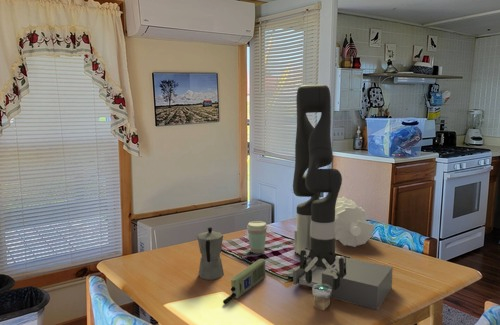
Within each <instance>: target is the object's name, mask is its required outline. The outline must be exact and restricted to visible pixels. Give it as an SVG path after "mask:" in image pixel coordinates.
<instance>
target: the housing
mask: <svg viewBox="0 0 500 325" xmlns="http://www.w3.org/2000/svg"><path fill="white" fill-rule="evenodd" d="M342 256H343V255H342ZM342 256H340V257H342ZM345 257H346V275H345V276H344V277H343V278H340V286H339V287H338V288H337V289H336V290H333V278H334V277H333V275H332V273H331V272H329V270H328V269H326V270H325V271H324V272H323V273H322V283H323V284H328V285H330V286H331V287H332V296H331V297H330V298H331V299H334V300H339V301H342V302H347V303H351V304H353V305H357V306H361V307H365V308H368V309H372V310H377V311H378V309H379V308H380V306H381V305H382V303H383V302H384V300H385V299H386V298H387V296H388V295H389V293H390V292H391V290H392V289H393V266H390V265H385V264H380V263H377V262H376V263H375V262H370V261H365V260H360V259H357V258H350V257H347V256H345ZM334 263H335V264H336V266H337V269H338V270H339V264H338V263H337V261H336V260H335V261H334ZM331 267H332V266H331Z"/></svg>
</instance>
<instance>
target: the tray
mask: <svg viewBox="0 0 500 325" xmlns="http://www.w3.org/2000/svg"><path fill="white" fill-rule="evenodd" d="M311 261H312V259H311V258H310V257H307V265H309V263H310V262H311ZM326 269H327V268H326ZM326 269H324V268H322V267H316V265H314V266H313V268H312V269H311V270H312V282H311V283H310V284H309V283H307V281H306V279H305V270H304V269H301V268H300V264H299V265H297V266H296V267H295V268H294V269H293V270H292V284H293V285H294V286H297V284H299V285H303V286H308V287H311V288H312V286H313V285H315V284H319V283H322V273H323V272H324V271H325V270H326Z"/></svg>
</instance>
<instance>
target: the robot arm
mask: <svg viewBox="0 0 500 325" xmlns="http://www.w3.org/2000/svg"><path fill="white" fill-rule="evenodd" d="M331 105H332V101H331V91H330V88H329V86H328V85H326V84H302V85H300V86H299V87H298V88H297V90H296V133H295V145H294V146H295V148H294V150H295V151H294V153H295V154H294V158H295V159H294V161H295V162H294V172H293V179H292V180H293V181H292V190H293V193H294V196H296V197H300V198H301V197H305V198H307V197H309V198H310V199H308V200H307V201H304V202H301V203H299V204H297V205H296V224H295V225H296V229H295V230H294V234H293V235H294V238H293V239H294V245H293V246H294V249H293V250H294V252H296V253H295V254H297V253H298V254H297V255H299V265H300V268H301V269H304V270H305V279H306V281H307V283H309V284H310V283H311V282H312V270H311V269H312V268H313V266H314V265H316V267H322V268H324V269H326V268H327V269H328V270H329V272H331V273H332V275H333V277H334V278H333V290H336V289H337V288H338V287H339V286H340V278H343V277H344V276H345V275H346V257H347V256H345V255H342V257H341V256H337V254H336V241H337V240H336V226H335V206H336V201H337V198H339V193H340V191H341V186H342V184H343V177H342V174H341V172H340V171H339V169H337V168H325V167H327V166H329V165H331V164H332V162H333V158H334V156H333V148H332V139H331V125H332V120H331V119H332V111H331V110H332V106H331ZM307 113H308V114H311V113H312V114H313V113H321V114H320V118H319V120H318V122H317V124H316V125H315V126H313V125H312V123H311V122H310V120H309V118H308V116H307ZM306 171H307V172H306ZM305 172H306V173H305ZM320 193H325V194H326V193H327V194H326V196H325V197H323V198H320V197H321V196H320ZM308 256H310V257H309V258H311V259H312V261H311V262H310V263H309V265H307V259H308ZM335 261H337V263H338V264H339V270H338V269H337V266H336V264H335V263H334V262H335ZM331 266H332V267H331Z"/></svg>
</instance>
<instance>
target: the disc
mask: <svg viewBox="0 0 500 325" xmlns="http://www.w3.org/2000/svg"><path fill="white" fill-rule="evenodd" d="M311 289H312V292H311V294H312V296H313V297H314V296H315V297H317V298H323V299H325V298H329V297H331V296H332V287H331V286H330V285H328V284H323V283H319V284H315V285H313V286H312V287H311Z"/></svg>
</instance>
